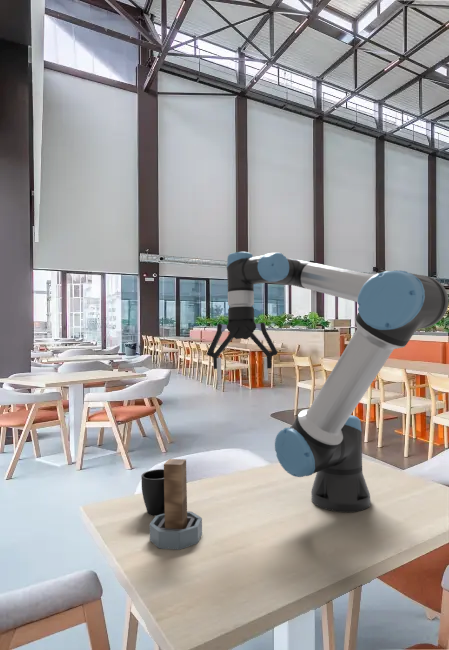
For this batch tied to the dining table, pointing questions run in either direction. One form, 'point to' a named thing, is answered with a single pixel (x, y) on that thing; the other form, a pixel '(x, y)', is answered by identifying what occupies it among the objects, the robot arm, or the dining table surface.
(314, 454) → the robot arm
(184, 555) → the dining table surface
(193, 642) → the dining table surface
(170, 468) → the wooden post
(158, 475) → the mug
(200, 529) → the octagonal peg hole ring
